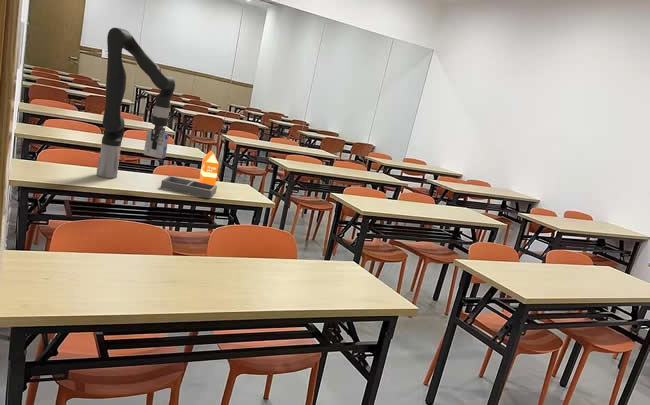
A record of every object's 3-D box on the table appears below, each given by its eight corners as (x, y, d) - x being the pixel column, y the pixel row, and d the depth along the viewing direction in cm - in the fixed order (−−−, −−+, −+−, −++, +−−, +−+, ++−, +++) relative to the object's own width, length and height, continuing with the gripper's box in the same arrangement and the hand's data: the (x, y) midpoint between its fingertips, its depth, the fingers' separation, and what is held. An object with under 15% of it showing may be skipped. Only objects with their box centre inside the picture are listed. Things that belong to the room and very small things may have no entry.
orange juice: (211, 183, 291) (217, 151, 287) (214, 187, 284) (220, 154, 279) (198, 182, 288) (203, 149, 283) (201, 186, 280) (207, 152, 275)
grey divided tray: (160, 187, 258) (161, 180, 257) (168, 182, 272) (169, 175, 271) (210, 198, 260) (211, 190, 259) (215, 192, 273) (217, 185, 272)
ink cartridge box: (166, 157, 252) (170, 130, 249) (162, 159, 247) (166, 131, 243) (147, 153, 252) (151, 125, 249) (143, 154, 247) (147, 126, 243)
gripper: (157, 113, 251) (153, 145, 255) (148, 114, 237) (143, 148, 241) (172, 116, 252) (167, 148, 256) (163, 118, 238) (158, 152, 242)
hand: (155, 148), depth 248 cm, fingers closed on ink cartridge box, 5 cm apart
